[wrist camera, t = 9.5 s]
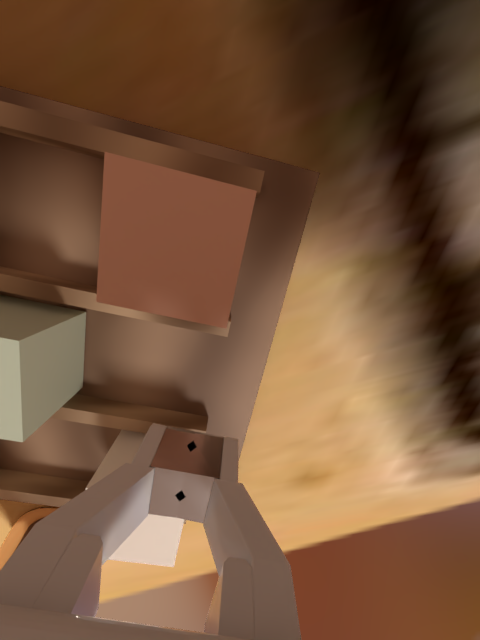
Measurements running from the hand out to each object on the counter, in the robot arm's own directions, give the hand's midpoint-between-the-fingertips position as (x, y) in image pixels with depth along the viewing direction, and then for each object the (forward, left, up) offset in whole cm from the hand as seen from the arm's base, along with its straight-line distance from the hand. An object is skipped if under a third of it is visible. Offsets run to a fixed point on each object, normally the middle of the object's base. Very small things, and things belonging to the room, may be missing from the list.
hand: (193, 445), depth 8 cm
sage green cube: (+9, 0, -5) cm, 10 cm away
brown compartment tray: (+6, 0, -7) cm, 9 cm away
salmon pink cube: (+2, -6, -5) cm, 8 cm away
